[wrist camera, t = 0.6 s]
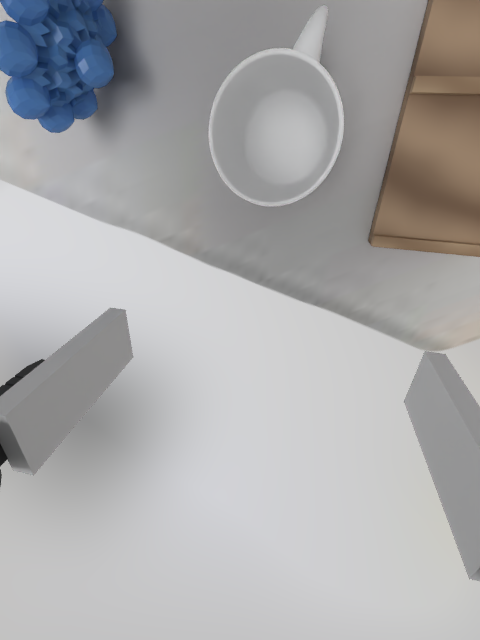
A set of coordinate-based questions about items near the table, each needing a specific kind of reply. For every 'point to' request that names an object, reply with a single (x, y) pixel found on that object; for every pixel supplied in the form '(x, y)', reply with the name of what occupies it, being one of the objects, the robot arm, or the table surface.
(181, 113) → the table surface
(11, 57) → the grapes
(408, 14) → the table surface
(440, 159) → the ledge board
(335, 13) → the table surface
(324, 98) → the mug
